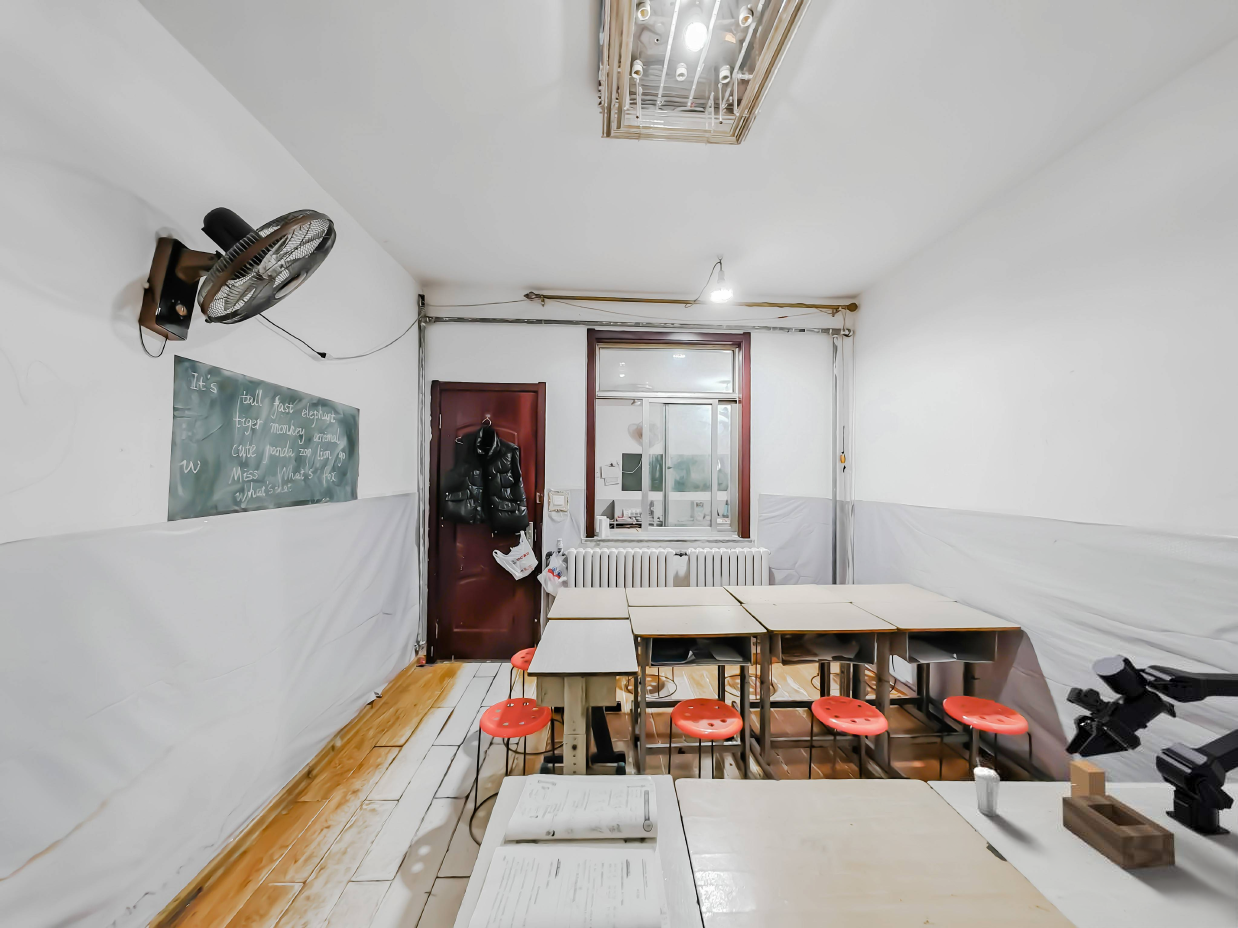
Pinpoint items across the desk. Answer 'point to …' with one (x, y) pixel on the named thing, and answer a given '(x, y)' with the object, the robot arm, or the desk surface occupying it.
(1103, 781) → the peg
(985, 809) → the milkshake
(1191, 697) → the robot arm
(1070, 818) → the socket
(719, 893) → the desk surface
